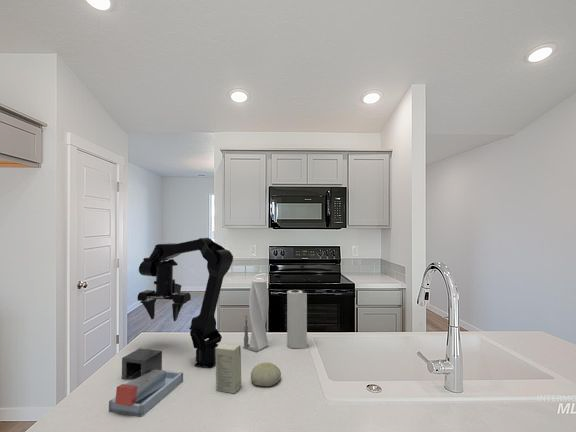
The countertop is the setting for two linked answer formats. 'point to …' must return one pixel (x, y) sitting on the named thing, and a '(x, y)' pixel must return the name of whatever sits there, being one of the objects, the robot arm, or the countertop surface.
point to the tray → (149, 397)
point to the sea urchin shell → (265, 374)
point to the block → (141, 362)
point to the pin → (140, 387)
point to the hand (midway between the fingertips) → (163, 320)
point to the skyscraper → (257, 315)
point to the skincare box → (228, 367)
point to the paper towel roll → (296, 319)
